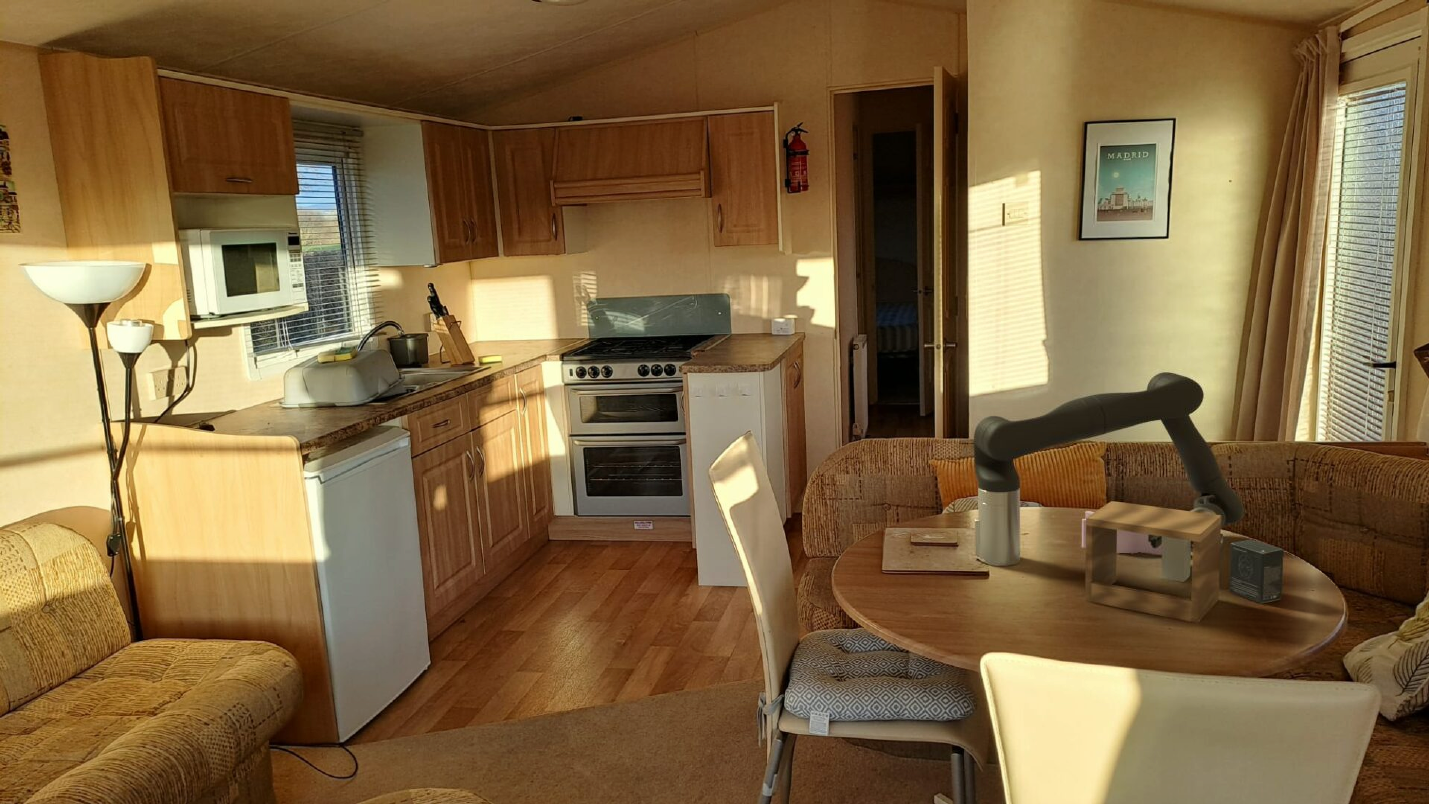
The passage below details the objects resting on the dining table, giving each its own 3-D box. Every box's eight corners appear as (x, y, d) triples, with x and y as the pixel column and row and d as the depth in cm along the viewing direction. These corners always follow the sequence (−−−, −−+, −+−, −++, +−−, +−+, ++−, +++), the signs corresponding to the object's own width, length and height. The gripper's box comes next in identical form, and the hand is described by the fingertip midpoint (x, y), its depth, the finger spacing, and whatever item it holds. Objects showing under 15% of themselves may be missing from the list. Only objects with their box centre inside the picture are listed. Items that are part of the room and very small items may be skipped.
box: (1282, 599, 202) (1284, 548, 200) (1260, 604, 200) (1262, 553, 198) (1249, 587, 209) (1251, 538, 207) (1228, 592, 207) (1230, 542, 206)
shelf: (1085, 600, 207) (1086, 518, 204) (1110, 580, 217) (1111, 501, 214) (1197, 622, 193) (1200, 534, 190) (1218, 599, 204) (1221, 515, 201)
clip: (1176, 543, 239) (1177, 514, 238) (1173, 559, 228) (1174, 530, 227) (1086, 535, 248) (1087, 508, 247) (1080, 551, 237) (1080, 522, 236)
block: (1161, 578, 217) (1162, 524, 215) (1168, 572, 220) (1169, 518, 218) (1183, 582, 214) (1185, 527, 212) (1190, 575, 217) (1191, 521, 215)
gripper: (1164, 507, 231) (1140, 525, 219) (1232, 515, 222) (1211, 535, 210) (1164, 538, 232) (1140, 558, 220) (1231, 548, 223) (1210, 570, 211)
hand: (1175, 547), depth 215 cm, fingers open, 8 cm apart
